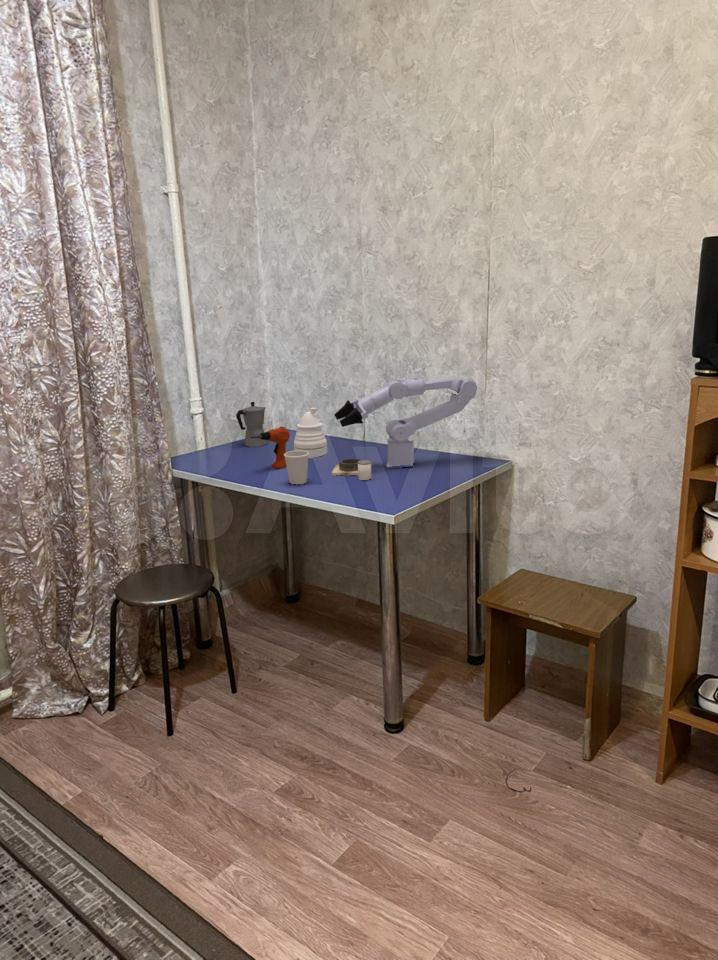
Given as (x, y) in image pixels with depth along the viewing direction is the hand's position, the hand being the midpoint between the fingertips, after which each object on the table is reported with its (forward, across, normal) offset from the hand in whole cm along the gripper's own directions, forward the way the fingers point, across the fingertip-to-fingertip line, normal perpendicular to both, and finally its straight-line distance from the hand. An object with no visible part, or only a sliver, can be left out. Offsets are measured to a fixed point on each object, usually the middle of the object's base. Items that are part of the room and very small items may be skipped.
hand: (338, 420), depth 242 cm
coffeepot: (+32, -50, +13) cm, 61 cm away
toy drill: (+28, -8, +8) cm, 31 cm away
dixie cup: (+22, +12, +8) cm, 26 cm away
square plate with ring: (+4, +5, +17) cm, 18 cm away
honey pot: (+14, -25, +18) cm, 33 cm away
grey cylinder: (+2, +17, +16) cm, 23 cm away
